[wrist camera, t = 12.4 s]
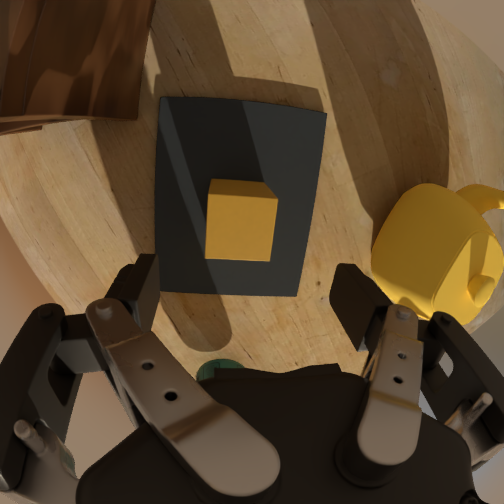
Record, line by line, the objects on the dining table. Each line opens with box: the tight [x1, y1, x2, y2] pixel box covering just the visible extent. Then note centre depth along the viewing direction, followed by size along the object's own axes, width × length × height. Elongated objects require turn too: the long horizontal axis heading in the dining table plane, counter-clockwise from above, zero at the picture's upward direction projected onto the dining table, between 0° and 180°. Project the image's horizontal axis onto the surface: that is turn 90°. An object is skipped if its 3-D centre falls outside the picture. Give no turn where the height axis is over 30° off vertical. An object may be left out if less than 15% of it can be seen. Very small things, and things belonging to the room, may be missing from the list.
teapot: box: [371, 183, 504, 325], centre depth 22 cm, size 13×20×12 cm
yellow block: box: [205, 179, 278, 261], centre depth 21 cm, size 4×4×6 cm
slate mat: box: [155, 97, 327, 297], centre depth 24 cm, size 18×14×1 cm
